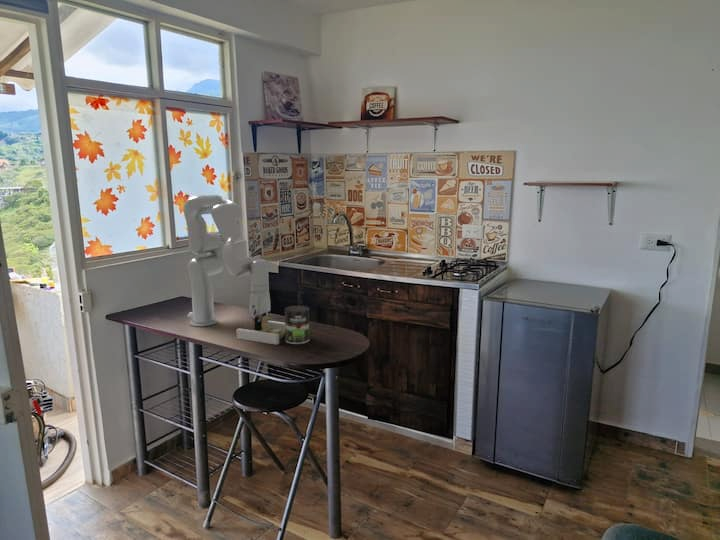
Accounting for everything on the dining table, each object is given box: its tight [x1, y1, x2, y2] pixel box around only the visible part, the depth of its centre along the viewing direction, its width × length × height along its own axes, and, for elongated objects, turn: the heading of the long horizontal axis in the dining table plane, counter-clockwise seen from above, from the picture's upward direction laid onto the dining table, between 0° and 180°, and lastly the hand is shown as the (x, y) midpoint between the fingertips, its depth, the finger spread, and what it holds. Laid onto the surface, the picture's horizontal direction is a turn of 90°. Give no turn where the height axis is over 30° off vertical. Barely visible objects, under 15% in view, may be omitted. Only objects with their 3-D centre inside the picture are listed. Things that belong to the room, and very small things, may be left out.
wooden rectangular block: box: [254, 314, 285, 340], centre depth 216 cm, size 12×4×8 cm, turn 67°
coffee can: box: [284, 304, 310, 345], centre depth 210 cm, size 10×10×14 cm
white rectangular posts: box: [235, 320, 285, 346], centre depth 217 cm, size 20×17×4 cm
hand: (261, 328), depth 218 cm, fingers closed on wooden rectangular block, 4 cm apart
